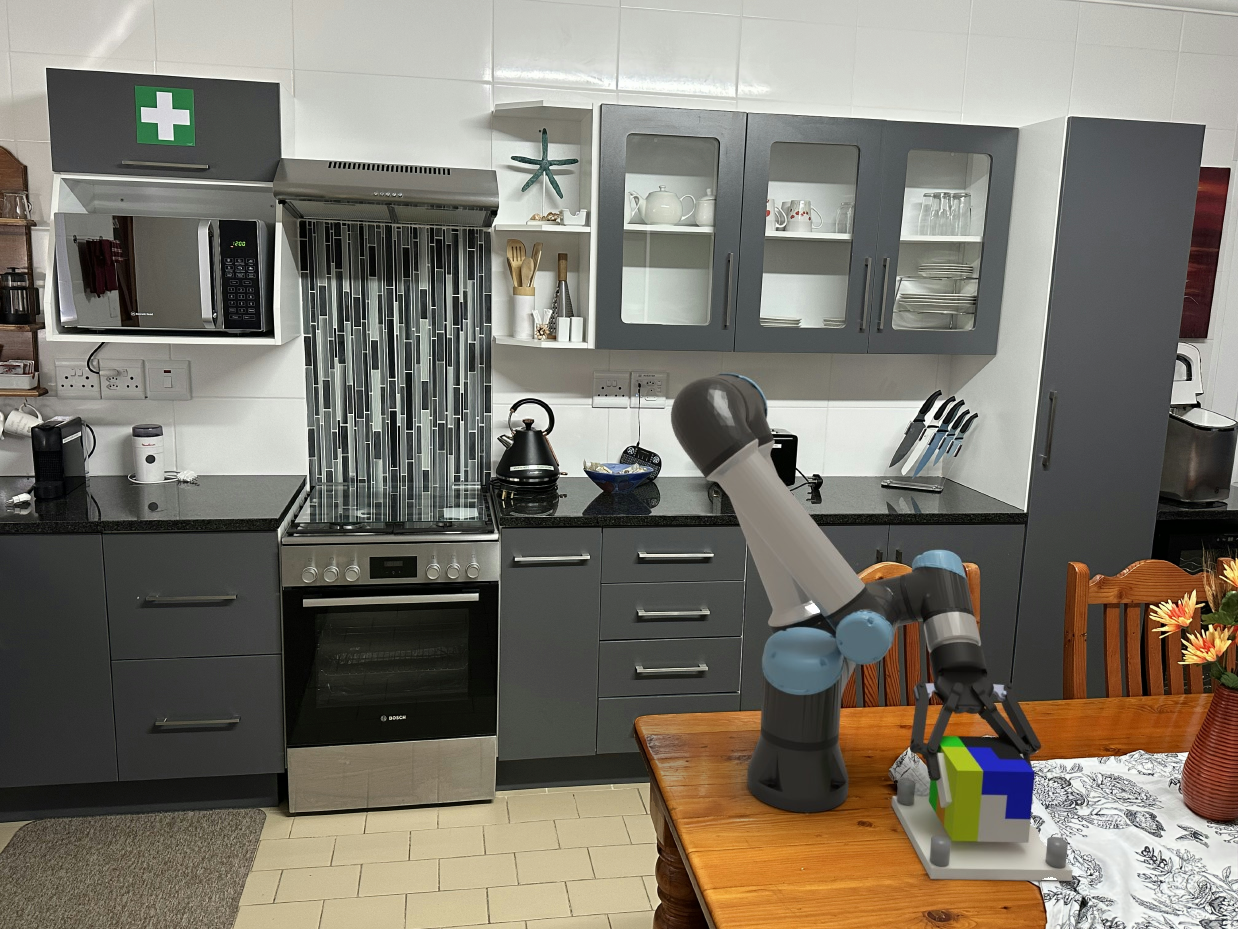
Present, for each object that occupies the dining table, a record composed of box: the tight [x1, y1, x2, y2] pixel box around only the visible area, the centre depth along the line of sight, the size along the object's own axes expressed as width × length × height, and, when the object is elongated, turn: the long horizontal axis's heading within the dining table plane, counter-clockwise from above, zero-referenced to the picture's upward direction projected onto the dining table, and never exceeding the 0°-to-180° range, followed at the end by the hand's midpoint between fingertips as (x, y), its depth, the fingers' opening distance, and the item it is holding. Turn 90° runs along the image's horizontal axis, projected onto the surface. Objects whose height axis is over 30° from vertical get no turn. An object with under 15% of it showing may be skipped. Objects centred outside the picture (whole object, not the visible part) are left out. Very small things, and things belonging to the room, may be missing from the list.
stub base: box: [891, 777, 1073, 882], centre depth 130 cm, size 18×18×4 cm
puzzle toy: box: [928, 735, 1036, 843], centre depth 129 cm, size 10×10×10 cm
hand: (987, 805), depth 126 cm, fingers closed on puzzle toy, 10 cm apart
